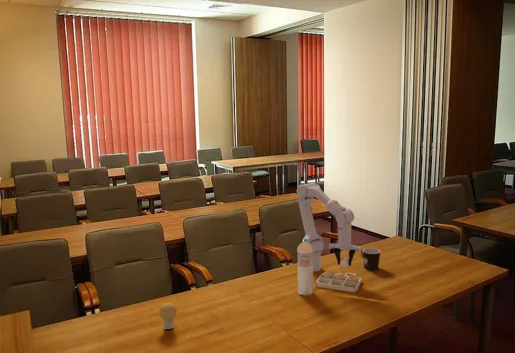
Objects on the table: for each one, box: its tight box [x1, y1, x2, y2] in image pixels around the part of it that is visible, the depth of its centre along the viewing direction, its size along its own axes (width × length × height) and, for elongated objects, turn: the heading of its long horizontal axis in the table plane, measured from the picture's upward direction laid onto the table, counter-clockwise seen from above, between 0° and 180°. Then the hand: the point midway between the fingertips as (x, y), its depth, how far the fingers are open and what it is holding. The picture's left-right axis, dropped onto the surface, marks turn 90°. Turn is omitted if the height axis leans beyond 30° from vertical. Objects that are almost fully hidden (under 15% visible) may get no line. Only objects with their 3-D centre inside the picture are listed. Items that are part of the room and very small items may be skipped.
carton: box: [314, 270, 362, 294], centre depth 200 cm, size 18×12×5 cm
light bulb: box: [158, 302, 178, 330], centre depth 166 cm, size 6×6×10 cm
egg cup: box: [344, 272, 357, 276], centre depth 209 cm, size 6×6×2 cm
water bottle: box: [296, 238, 314, 297], centre depth 192 cm, size 7×7×25 cm
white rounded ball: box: [340, 256, 349, 268], centre depth 202 cm, size 4×4×4 cm
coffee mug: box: [360, 247, 381, 271], centre depth 219 cm, size 12×9×10 cm
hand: (344, 264), depth 202 cm, fingers closed on white rounded ball, 4 cm apart
